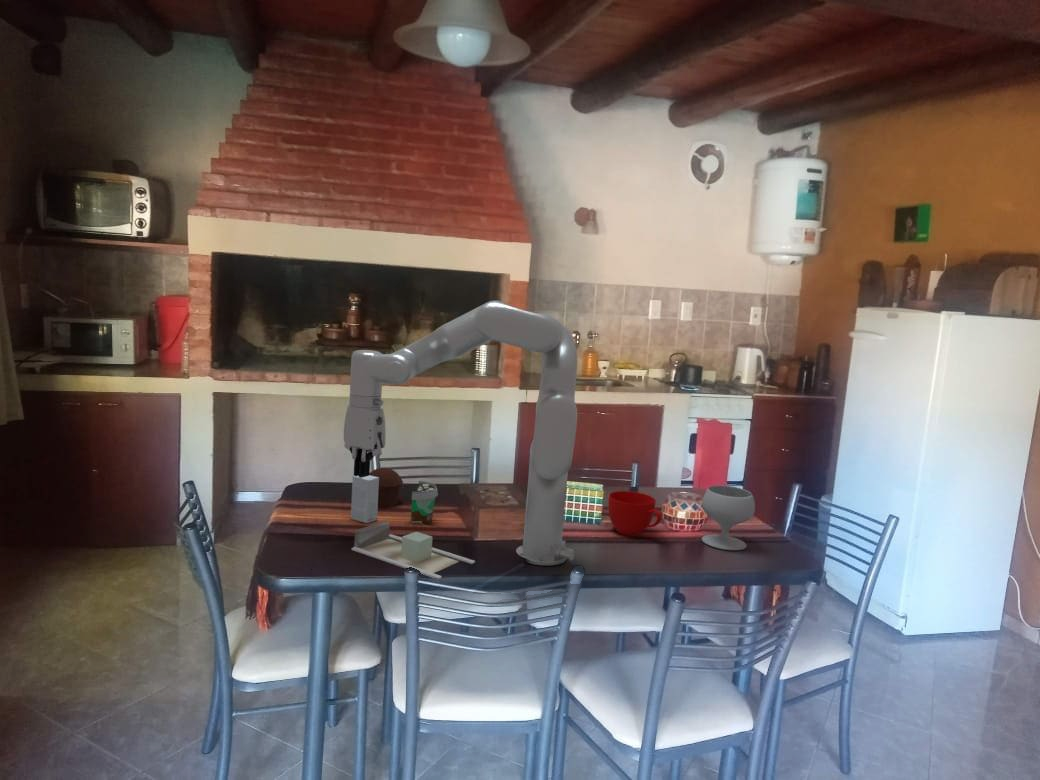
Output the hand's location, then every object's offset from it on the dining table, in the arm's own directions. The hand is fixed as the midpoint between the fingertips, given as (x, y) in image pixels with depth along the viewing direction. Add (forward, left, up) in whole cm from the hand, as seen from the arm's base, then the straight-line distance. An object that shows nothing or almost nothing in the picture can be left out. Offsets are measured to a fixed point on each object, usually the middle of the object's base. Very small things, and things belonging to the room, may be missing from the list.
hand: (361, 475), depth 186 cm
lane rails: (-17, 0, -17) cm, 24 cm away
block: (-18, 0, -16) cm, 24 cm away
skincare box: (+12, -14, -17) cm, 25 cm away
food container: (-1, -24, -17) cm, 30 cm away
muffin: (+19, -29, -17) cm, 39 cm away
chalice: (-70, -69, -17) cm, 100 cm away
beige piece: (-15, 0, -17) cm, 23 cm away
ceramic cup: (-48, -58, -17) cm, 78 cm away
